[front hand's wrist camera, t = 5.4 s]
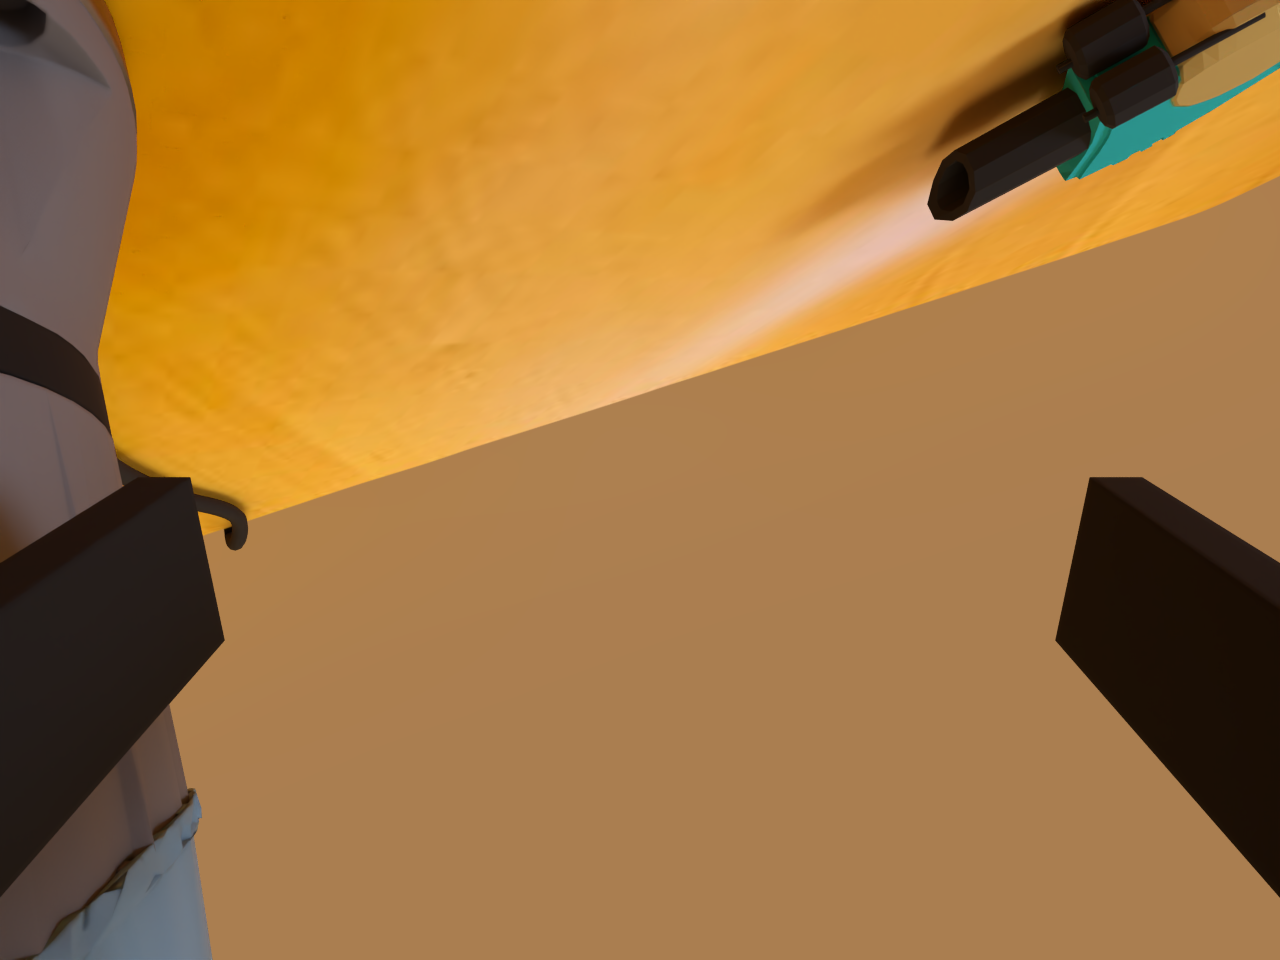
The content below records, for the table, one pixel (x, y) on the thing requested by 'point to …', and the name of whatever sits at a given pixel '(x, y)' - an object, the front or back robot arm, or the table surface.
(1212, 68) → the toy gun
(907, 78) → the table surface
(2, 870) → the front robot arm
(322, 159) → the table surface
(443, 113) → the table surface
